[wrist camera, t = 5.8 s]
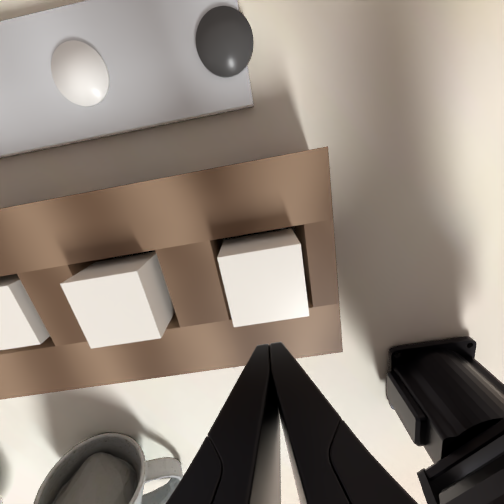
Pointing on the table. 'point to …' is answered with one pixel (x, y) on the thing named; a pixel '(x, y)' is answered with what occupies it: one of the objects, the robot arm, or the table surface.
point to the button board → (170, 270)
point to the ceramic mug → (108, 474)
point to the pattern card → (119, 69)
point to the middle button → (120, 300)
